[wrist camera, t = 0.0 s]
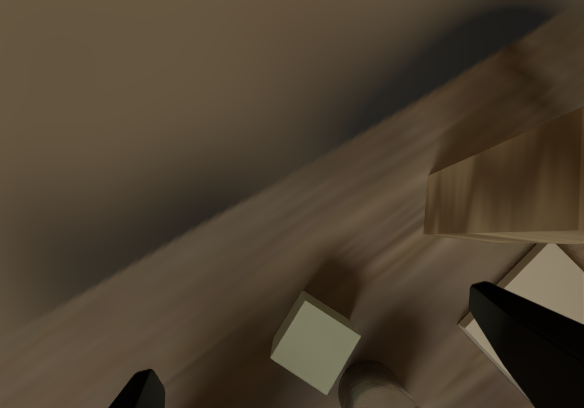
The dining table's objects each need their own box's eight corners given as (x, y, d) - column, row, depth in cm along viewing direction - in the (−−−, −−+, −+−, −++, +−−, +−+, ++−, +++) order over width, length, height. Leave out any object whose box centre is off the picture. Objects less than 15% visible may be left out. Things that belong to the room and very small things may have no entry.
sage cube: (348, 319, 24) (361, 336, 20) (320, 368, 23) (326, 395, 19) (302, 289, 24) (305, 300, 20) (273, 337, 23) (270, 358, 19)
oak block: (483, 241, 24) (707, 246, 11) (423, 234, 24) (578, 230, 11) (486, 183, 25) (707, 122, 12) (428, 175, 25) (582, 106, 12)
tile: (641, 341, 23) (657, 346, 22) (558, 431, 23) (571, 440, 22) (540, 239, 24) (551, 239, 23) (457, 324, 23) (464, 328, 22)
